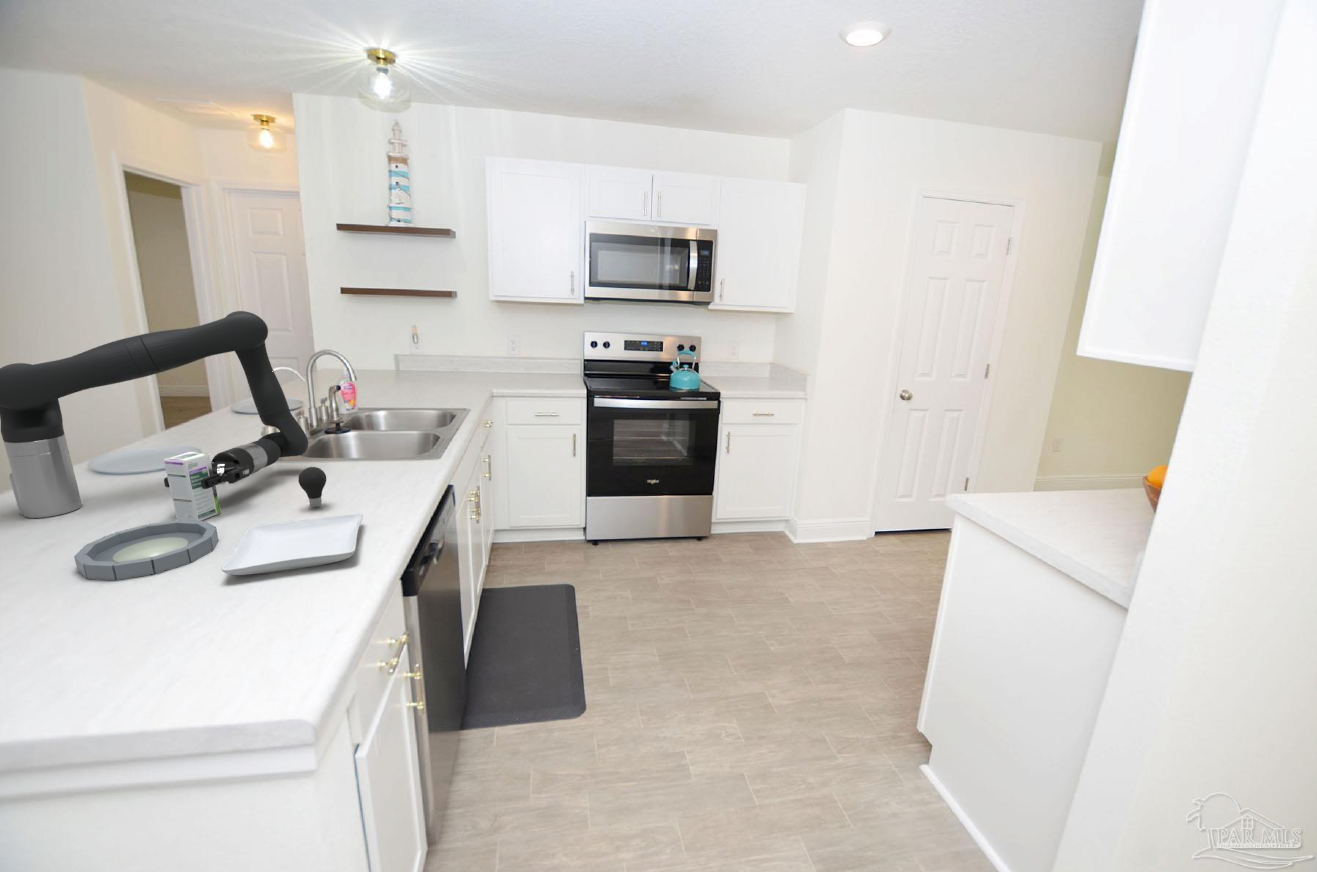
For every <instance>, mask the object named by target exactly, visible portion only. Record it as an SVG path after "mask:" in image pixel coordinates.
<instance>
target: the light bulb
mask: <svg viewBox="0 0 1317 872" xmlns="http://www.w3.org/2000/svg"><path fill="white" fill-rule="evenodd" d="M297 481H298V483H299V486H300V487H301V489H302V490H303V491H304V492H305V493H306V496H307V498H308V501H309V506H310V507H313V508H314V509H318V508H319V507H320V506H321V505H322V504H323V503H322V502H323V499H322V496H323V491H324V488H325V485H326V483H327V475H326V473H325V471H324V470H322V469H321V468H319V467H317V466H310V467H306V468H305V469H303V470H301V472H300V473H299V475H298V479H297Z"/></svg>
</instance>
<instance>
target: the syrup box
mask: <svg viewBox="0 0 1317 872" xmlns="http://www.w3.org/2000/svg"><path fill="white" fill-rule="evenodd" d="M211 461H212V459H211V457H210V454H209V453H207V452H200V451H188V452H185V453H181V454H178V455H174V456H171V457H167V458H164V459H163V464H164V468H165V473H166V477H167V478H168V482H169V487H168V488H169V489H170V490H169V491H170V495H171V499H172V503H173V507H174V513H175V516H176V520H179V521H180V520H194V521H205V520H206V519H208V518H211V517H214V516H217V515H219V514H221V513H222V512H221V511H222V510H221V507H220V502H219V496H218V493H217V492H218V491H217V487H216V486H217V485H215V486H213V487H211V488H208V489H203V488H202V484H201V480H202V479H204V478H207V477H209V476H212V475H213V471H212V465H211Z"/></svg>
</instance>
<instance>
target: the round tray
mask: <svg viewBox="0 0 1317 872" xmlns="http://www.w3.org/2000/svg"><path fill="white" fill-rule="evenodd" d="M218 542H219V535H218V530H217V526H215V525H214V524H212V523H209V522H208V521H205V520H202V521H194V520H177V519H176V520H170V521H163V522H162V521H161V522H152V523H148V524H143V525H139V526H135V527H131V528H128V529H124V530H119V531H116V532H114V533H109V534H108V535H105V536H103V537H101V538H98V539H96V540H94V541H91V542H88V543H87V544H85V545H84V546H83V547H82V548H81V549H79V551H78V552H76V554H75V555H74V556H73V559H74V562H75V566H76V569H77V572H78V573H79V574H81V575H82V576H83V577H84V578H85V579H86V580H95V579H97V580H99V579H100V580H102V581H121V579H122V580H127V579H133V578H132V577H135V578H138V577H137V576H141V577H146V576H145V575H147V576H151V575H150V574H154V573H155V574H156V573H157V574H160V573H159V572H161V573H163V572H162V571H164V570H167V571H170V570H172V569H171V568H173V569H176V568H179V567H178V566H180V565H183V566H186V565H188V563H189V562H190V563H193V562H195V561H197V560H198V558H199V559H201V558H202V557H204V556H206V555H209V553H211V552H213V551H214V550H215V548H216V546H217V544H218ZM210 551H211V552H210ZM205 554H206V555H205ZM196 559H197V560H196ZM194 560H195V561H194ZM190 563H189V564H190ZM185 564H186V565H185ZM180 567H181V566H180ZM169 569H170V570H169ZM164 572H165V571H164ZM155 574H154V575H155ZM100 580H99V581H100Z"/></svg>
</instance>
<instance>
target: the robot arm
mask: <svg viewBox="0 0 1317 872" xmlns="http://www.w3.org/2000/svg"><path fill="white" fill-rule="evenodd" d="M268 335H269V328H268V326H267V324H266V322H265V321H264V320H263V318H261V317H260V316H258V315H257V314H255V313H253V312H249V311H245V310H236V311H232V312H230V313H229V314H227V315H226V316H225V317H222V318H219V319H217V320H215V321H210V322H207V323H204V324H202V325H197V326H193V327H186V328H178V329H169V330H168V329H167V330H160V331H159V330H158V331H153V332H147V333H141V334H138V335H134V336H130V337H125V338H121V339H117V340H115V341H111V342H106V343H104V344H102V345H98V346H96V347H93V348H90V349H87V350H85V351H82V352H81V353H77V354H74V355H72V356H69V357H66V358H61V359H56V360H53V361H52V360H51V361H47V362H41V363H35V364H31V363H26V362H16V363H15V362H14V363H9V364H6V365H5V366H2V367H1V368H0V434H1V439H2V441H3V444H4V448H5V452H6V455H7V459H8V462H9V466H10V469H11V472H10V473H9V480H10V483H11V486H12V490H13V495H14V498H15V502H16V506H17V509H18V512H19V515H23V516H24V517H25V518H28V519H29V518H30V519H32V518H33V519H39V518H40V519H41V518H48V517H55V516H59V515H60V516H61V515H64V514H67V513H71V512H74V511H76V510H78V509H80V508H82V507H83V504H82V503H83V501H82V498H81V495H80V490H79V486H78V483H77V479H76V474H75V471H74V465H73V461H72V457H71V454H70V450H69V445H68V442H67V438H66V434H65V430H64V425H63V423H64V421H63V414H62V410H61V406H60V402H59V399H60V398H64V397H66V396H69V395H72V394H75V393H79V392H81V391H86V390H89V389H93V388H99V387H103V386H104V387H105V386H108V385H114V384H119V383H124V382H129V381H132V380H137V379H141V378H146V377H150V376H152V375H157V374H160V373H165V372H167V371H171V370H173V369H177V368H179V367H182V366H186V365H189V364H191V363H194V362H196V361H199V360H202V359H205V358H208V357H211V356H215V355H221V354H226V353H232V352H235V354H236V356H237V358H238V361H239V362H240V365H241V367H242V369H243V370H242V371H243V372H244V374H245V377H246V380H247V383H248V387H249V390H250V393H251V396H252V400H253V403H254V405H255V408H256V411H257V413H258V415H259V418H260V421H261V423H262V424H263V426H268V427H273V428H276V429H277V430H278V431H276V432H275V431H274V432H271V433H267V434H265V435H263V436H262V437H260V438H259V439H258V440H255V441H251V442H249V443H246V444H241V445H238V446H235V447H232V448H229V449H227V450H224V451H220V452H218V453H217V454H214V456H213V458H212V459H211V465H212V471H213V475H212V476H209V477H207V478H204V479H202V480H201V484H202V488H203V489H208V488H211V487H213V486H218V485H224V484H226V483H227V482H228V484H230V485H232V484H235V483H237V482H239V481H241V480H244V479H245V478H248V477H250V475H253V474H255V473H257V472H259V471H260V470H263V469H265V468H266V467H269V466H271V465H274V464H275V463H276V462H277V461H279V459H280V458H287V457H289V458H290V457H299V456H302V455H304V454H306V452H307V451H308V447H309V440H308V436H307V433H306V432H305V431H304V429H303V428H302V427H301V425H300V424H299V423H298V421H297V420H296V418H295V417H294V416H293V414H292V413H291V410H290V408H289V404H288V401H287V399H286V395H285V393H284V390H283V388H282V386H281V383H280V382H279V379H278V377H277V376H276V373H275V371H274V369H273V366H272V363H271V361H270V358H269V356H268V351H267V347H266V340H267V338H268ZM272 371H273V372H272ZM163 483H164V488H170V487H169V482H168V478H167V476H166V477H164V478H163Z"/></svg>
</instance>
